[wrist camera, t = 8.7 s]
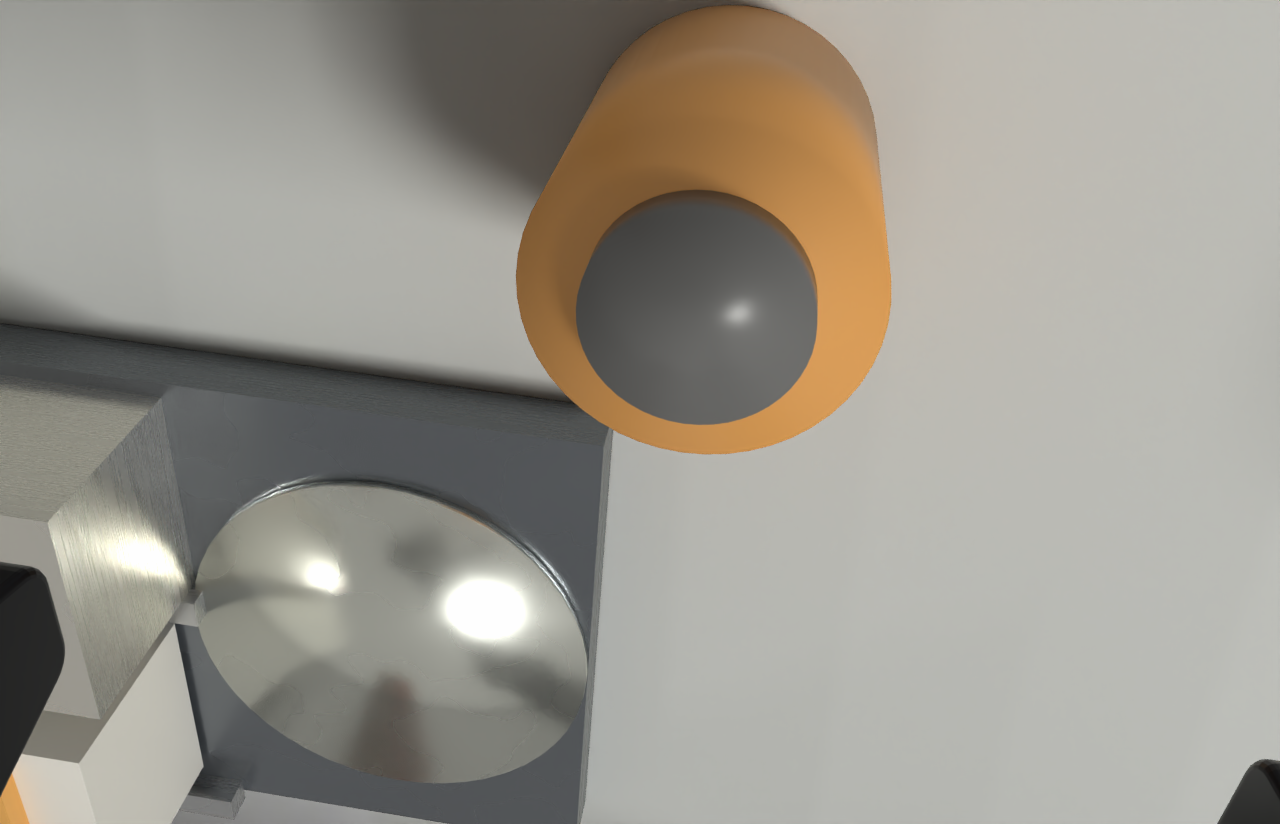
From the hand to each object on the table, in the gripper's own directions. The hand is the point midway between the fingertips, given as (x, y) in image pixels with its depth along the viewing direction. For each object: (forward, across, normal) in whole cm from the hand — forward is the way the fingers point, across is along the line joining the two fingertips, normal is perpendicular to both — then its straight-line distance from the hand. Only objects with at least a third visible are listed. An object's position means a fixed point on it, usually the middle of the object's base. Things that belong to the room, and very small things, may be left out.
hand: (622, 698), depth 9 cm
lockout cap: (+11, 0, 0) cm, 11 cm away
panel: (+11, +12, +10) cm, 20 cm away
